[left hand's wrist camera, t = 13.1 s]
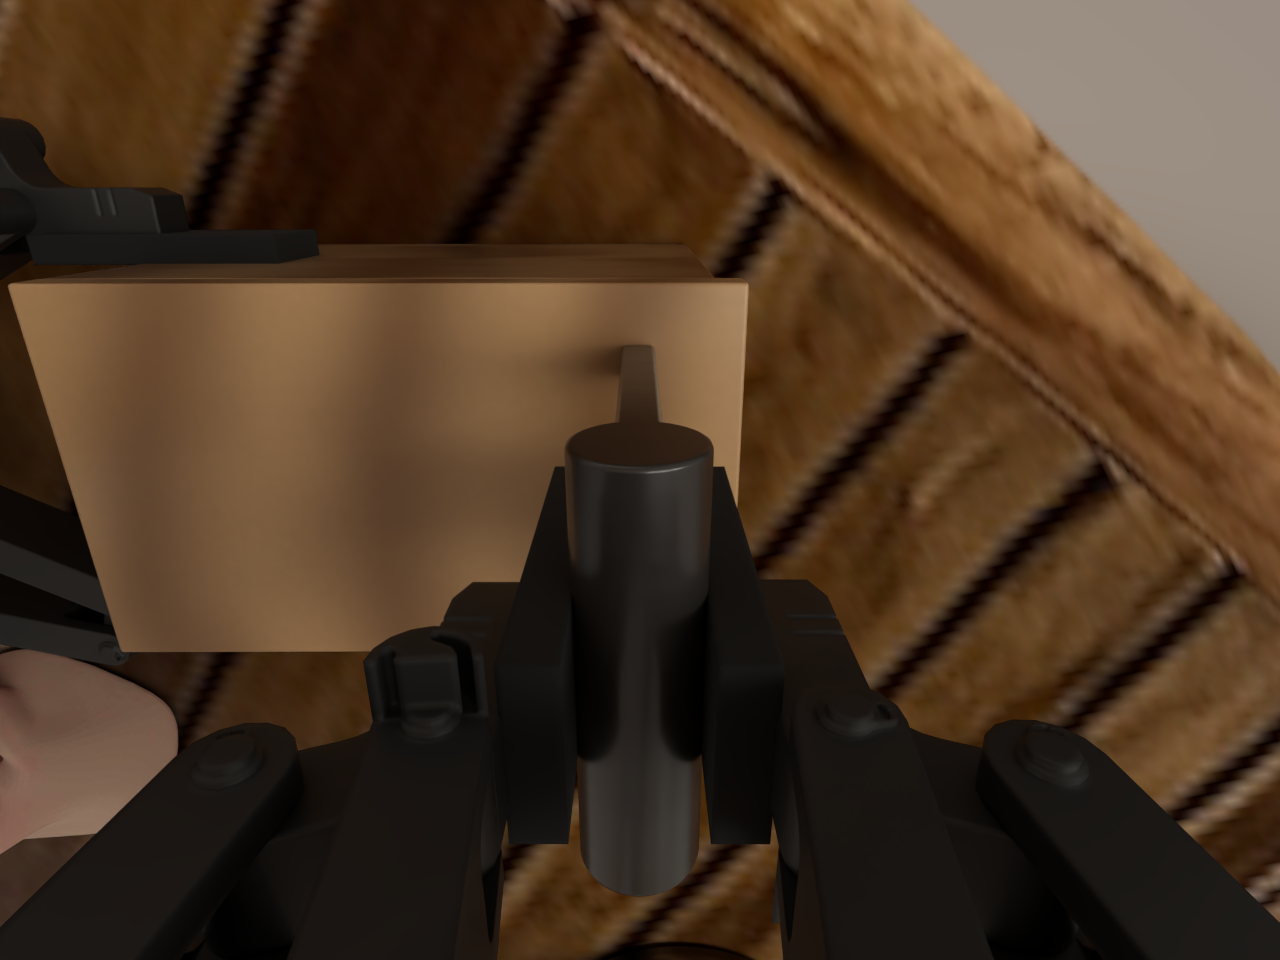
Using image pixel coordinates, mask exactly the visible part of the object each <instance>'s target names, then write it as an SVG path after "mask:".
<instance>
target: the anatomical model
mask: <svg viewBox="0 0 1280 960" xmlns="http://www.w3.org/2000/svg"><path fill="white" fill-rule="evenodd" d="M177 751H178V728H177V723H176V720H175V716H174V715H173V713H172V711H171V709H170V708H169V707H168V706H167V704H166V703H165V702H164V701H163V700H161V699H160V698H158V697H157V696H156V695H154V694H153V693H151V692H150V691H148V690H146V689H144V688H142V687H140V686H138V685H136V684H135V683H132V682H130V681H128V680H126V679H123V678H121V677H119V676H116V675H114V674H112V673H110V672H107V671H105V670H103V669H100V668H98V667H96V666H93V665H90V664H87V663H85V662H82V661H79V660H75V659H72V658H69V657H65V656H60V655H54V654H49V653H44V652H39V651H33V650H28V649H21V650H15V651H10V652H6V653H2V654H0V854H1V853H3V852H4V851H6V850H7V849H9V848H10V847H12V846H14V845H15V844H17V843H18V842H20V841H21V840H23V839H29V838H45V837H60V836H73V835H85V834H95V833H97V832H98V831H99V830H100V829H101V828H102V827H103V826H104V825H105V824H107V823H108V822H109V821H110V820H111V819H112V818H113V817H114V816H115V815H116V814H117V813H118V812H119V811H120V810H121V809H122V808H123V807H124V806H125V805H126V804H127V803H128V802H129V801H130V800H131V799H132V798H133V797H134V796H135V795H136V794H137V793H138V792H139V791H140V790H141V789H142V788H143V787H144V786H145V785H146V784H147V783H148V782H150V781H151V780H152V779H153V778H154V777H155V776H156V775H157V774H158V773H159V772H160V771H161V770H162V769H163V768H164V767H165V766H166V765H167V764H168V763H169V762H170V761H171V760H172V759H173V758H174V757H175V756H177Z"/></svg>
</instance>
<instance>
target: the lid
mask: <svg viewBox="0 0 1280 960" xmlns="http://www.w3.org/2000/svg"><path fill="white" fill-rule="evenodd" d="M8 289H9V292H10V296H11V299H12V302H13V305H14V308H15V312H16V315H17V318H18V321H19V325H20V328H21V331H22V334H23V337H24V341H25V344H26V347H27V350H28V354H29V357H30V360H31V363H32V366H33V370H34V373H35V376H36V379H37V382H38V386H39V389H40V392H41V395H42V399H43V402H44V405H45V408H46V411H47V415H48V418H49V421H50V424H51V427H52V431H53V434H54V437H55V440H56V444H57V447H58V450H59V453H60V456H61V460H62V463H63V466H64V469H65V473H66V476H67V479H68V482H69V485H70V489H71V492H72V495H73V498H74V501H75V505H76V508H77V511H78V514H79V518H80V521H81V524H82V527H83V530H84V534H85V537H86V540H87V543H88V547H89V550H90V553H91V556H92V559H93V563H94V566H95V569H96V572H97V575H98V579H99V582H100V585H101V588H102V592H103V595H104V598H105V601H106V604H107V608H108V611H109V614H110V617H111V620H112V624H113V627H114V630H115V633H116V637H117V640H118V643H119V646H120V649H121V651H122V652H338V651H372V649H373V648H374V647H376V646H377V645H379V644H380V643H382V642H383V641H385V640H386V639H388V638H390V637H392V636H394V635H397V634H400V633H403V632H405V631H408V630H411V629H417V628H423V627H430V626H440V624H441V622H442V621H443V620H444V616H445V613H446V611H447V609H448V607H449V605H450V603H451V600H452V598H454V597H455V596H456V595H457V594H458V593H460V592H461V591H462V590H463V589H465V588H466V587H467V586H468V585H470V584H471V583H472V582H520V579H521V576H522V573H523V569H524V566H525V563H526V559H527V556H528V553H529V550H530V546H531V543H532V540H533V536H534V533H535V530H536V527H537V523H538V520H539V517H540V514H541V510H542V507H543V504H544V500H545V497H546V494H547V491H548V487H549V484H550V481H551V478H552V474H553V471H554V468H555V466H565V483H566V507H567V531H568V556H569V580H570V592H571V595H572V620H573V645H574V670H575V695H576V720H577V745H578V758H577V773H578V798H579V822H580V846H581V855H582V858H583V861H584V864H585V866H586V868H587V869H588V870H589V872H590V873H591V875H592V876H593V877H594V878H595V879H596V880H597V881H598V882H599V883H600V884H602V885H603V886H605V887H606V888H608V889H610V890H612V891H614V892H617V893H620V894H623V895H629V896H651V895H656V894H659V893H662V892H665V891H667V890H669V889H671V888H673V887H674V886H676V885H677V884H679V883H680V882H681V881H682V880H683V879H684V878H685V877H686V876H687V875H688V874H689V872H690V871H691V869H692V868H693V866H694V864H695V862H696V859H697V856H698V849H699V826H700V800H701V774H702V755H701V750H702V724H703V698H704V673H705V647H706V621H707V595H708V590H709V566H710V541H711V515H712V489H713V466H724V467H725V470H726V473H727V477H728V480H729V483H730V486H731V490H732V493H733V496H734V499H735V503H736V506H737V503H738V484H739V465H740V446H741V427H742V408H743V389H744V370H745V351H746V332H747V313H748V294H749V285H748V283H747V282H746V281H745V280H743V279H741V278H507V279H36V280H29V281H23V282H16V283H11V284H9V285H8Z"/></svg>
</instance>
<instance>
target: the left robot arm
mask: <svg viewBox="0 0 1280 960" xmlns="http://www.w3.org/2000/svg"><path fill="white" fill-rule="evenodd" d="M363 664H364V670H365V676H366V682H367V688H368V694H369V700H370V706H371V712H372V718H373V723H372V726H371V728H370V731H368V732H366V733H363V734H361V735H359V736H356V737H353V738H350V739H346V740H343V741H339V742H335V743H331V744H326V745H322V746H317V747H313V748H308V749H304V750H299V751H298V750H297V745H296V740H295V738H294V737H293V736H292V735H291V734H290V732H289V731H288V730H287V729H286V728H284V727H281V726H277V725H274V724H270V723H244V724H240V725H237V726H233V727H229V728H225V729H221V730H218V731H216V732H214V733H212V734H210V735H208V736H206V737H204V738H202V739H199V740H197V741H195V742H194V743H192V744H191V745H190V746H189V747H187V748H186V749H185V750H183V751H182V752H181V753H179V754H178V755H177V756H175V757H174V758H173V759H172V760H171V761H170V762H169V763H168V764H167V765H166V766H165V767H164V768H163V769H162V770H161V771H160V772H159V773H158V774H157V775H156V776H155V777H154V778H153V779H152V780H151V781H150V782H148V783H147V784H146V785H145V786H144V787H143V788H142V789H141V790H140V791H139V792H138V793H137V794H136V795H135V796H134V797H133V798H132V799H131V800H130V801H129V802H128V803H127V804H126V805H125V806H124V807H123V808H122V809H121V810H120V811H119V812H118V813H117V814H116V815H115V816H114V817H113V818H112V819H111V820H110V821H109V822H108V823H107V824H105V825H104V826H103V827H102V828H101V829H100V830H99V831H98V832H97V833H96V834H95V835H94V836H93V837H92V838H91V839H90V840H89V841H88V842H87V843H86V844H85V845H84V846H83V847H82V848H81V849H80V850H79V851H78V852H77V853H76V854H75V855H74V856H73V857H72V858H71V859H70V860H69V861H68V862H67V863H66V864H65V865H63V866H62V867H61V868H60V869H59V870H58V871H57V872H56V873H55V874H54V875H53V876H52V877H51V878H50V879H49V880H48V881H47V882H46V883H45V884H44V885H43V886H42V887H41V888H40V889H39V890H38V891H37V892H36V893H35V894H34V895H33V896H32V897H31V898H30V899H29V900H28V901H27V902H26V903H25V904H24V905H23V906H22V907H20V908H19V909H18V910H17V911H16V912H15V913H14V914H13V915H12V916H11V917H10V918H9V919H8V920H7V921H6V922H5V923H4V924H3V925H2V926H1V927H0V960H497V951H498V940H499V929H500V918H501V907H502V895H503V884H504V873H503V862H502V851H501V844H502V839H503V834H504V830H505V825H506V820H507V824H508V835H509V844H568V841H569V832H570V823H571V814H572V804H573V795H574V786H575V777H576V767H577V758H578V745H577V720H576V695H575V670H574V645H573V620H572V595H571V592H570V580H569V556H568V531H567V507H566V483H565V466H555V468H554V471H553V474H552V478H551V481H550V484H549V487H548V491H547V494H546V497H545V500H544V504H543V507H542V510H541V514H540V517H539V520H538V523H537V527H536V530H535V533H534V536H533V540H532V543H531V546H530V550H529V553H528V556H527V559H526V563H525V566H524V569H523V573H522V576H521V579H520V582H472V583H471V584H470V585H468V586H467V587H466V588H465V589H463V590H462V591H461V592H460V593H458V594H457V595H456V596H455V597H454V598H452V600H451V603H450V605H449V607H448V609H447V611H446V613H445V616H444V620H443V621H442V622H441V624H440V626H430V627H423V628H417V629H411V630H408V631H405V632H403V633H400V634H397V635H394V636H392V637H390V638H388V639H386V640H385V641H383V642H382V643H380V644H379V645H377V646H376V647H374V648H373V649H372V651H371V652H370V653H369V655H368V656H367V657H366V658H365V660H364V661H363ZM701 755H702V764H703V774H704V783H705V792H706V801H707V811H708V820H709V829H710V838H711V844H770V839H771V827H772V816H773V820H774V825H775V829H776V834H777V839H778V844H779V851H778V862H777V873H776V883H775V894H774V905H773V915H772V922H773V923H780V928H781V939H782V950H783V960H1280V922H1279V921H1277V920H1276V919H1275V918H1274V917H1273V916H1272V915H1271V914H1270V913H1269V912H1268V911H1267V910H1266V909H1265V908H1264V907H1263V906H1262V905H1261V904H1260V903H1259V902H1258V901H1257V900H1256V899H1255V898H1254V897H1253V896H1252V895H1251V894H1250V893H1249V892H1248V891H1247V890H1246V889H1244V888H1243V887H1242V886H1241V885H1240V884H1239V883H1238V882H1237V881H1236V880H1235V879H1234V878H1233V877H1232V876H1231V875H1230V874H1229V873H1228V872H1227V871H1226V870H1225V869H1224V868H1223V867H1222V866H1221V865H1220V864H1219V863H1218V862H1217V861H1216V860H1215V859H1214V858H1213V857H1211V856H1210V855H1209V854H1208V853H1207V852H1206V851H1205V850H1204V849H1203V848H1202V847H1201V846H1200V845H1199V844H1198V843H1197V842H1196V841H1195V840H1194V839H1193V838H1192V837H1191V836H1190V835H1189V834H1188V833H1187V832H1186V831H1185V830H1184V829H1183V828H1182V827H1181V826H1180V825H1178V824H1177V823H1176V822H1175V821H1174V820H1173V819H1172V818H1171V817H1170V816H1169V815H1168V814H1167V813H1166V812H1165V811H1164V810H1163V809H1162V808H1161V807H1160V806H1159V805H1158V804H1157V803H1156V802H1155V801H1154V800H1153V799H1152V798H1151V797H1150V796H1149V795H1148V794H1147V793H1145V792H1144V791H1143V790H1142V789H1141V788H1140V787H1139V786H1138V785H1137V784H1136V783H1135V782H1134V781H1133V780H1132V779H1131V778H1130V777H1129V776H1128V775H1127V774H1126V773H1125V772H1124V771H1123V770H1122V769H1121V768H1120V767H1119V766H1118V765H1117V764H1116V763H1115V762H1114V761H1112V760H1111V759H1110V758H1109V757H1108V756H1107V755H1106V754H1105V753H1104V752H1102V751H1101V750H1100V749H1098V748H1097V747H1096V746H1095V745H1093V744H1092V743H1091V742H1089V741H1088V740H1087V739H1085V738H1083V737H1081V736H1079V735H1077V734H1075V733H1073V732H1070V731H1068V730H1066V729H1064V728H1062V727H1059V726H1056V725H1052V724H1048V723H1044V722H1040V721H1036V720H1009V721H1006V722H1002V723H999V724H995V725H994V726H993V727H992V728H991V729H990V730H989V731H988V732H987V733H986V734H985V737H984V741H983V746H982V748H980V747H976V746H971V745H967V744H962V743H958V742H953V741H949V740H944V739H940V738H937V737H933V736H930V735H926V734H923V733H920V732H918V731H916V730H914V729H912V728H910V727H909V725H908V722H907V720H906V718H905V717H904V715H903V714H902V712H901V711H900V709H899V708H898V706H897V705H895V704H894V703H893V702H891V701H890V700H889V699H888V698H886V697H885V696H884V695H882V694H880V693H878V692H876V691H873V690H871V689H870V688H869V686H868V684H867V681H866V679H865V677H864V675H863V673H862V671H861V668H860V666H859V664H858V662H857V660H856V658H855V655H854V653H853V651H852V649H851V647H850V645H849V642H848V640H847V638H846V636H845V635H843V629H842V627H841V625H840V623H839V621H838V619H836V614H835V612H834V610H833V608H832V606H831V603H830V601H829V599H828V597H827V596H826V595H825V594H824V593H823V592H821V591H820V590H819V589H818V588H816V587H815V586H814V585H813V584H812V583H810V582H809V581H808V580H759V578H758V575H757V572H756V568H755V565H754V562H753V559H752V555H751V552H750V549H749V545H748V542H747V539H746V536H745V532H744V529H743V526H742V522H741V519H740V516H739V513H738V509H737V506H736V503H735V499H734V496H733V493H732V490H731V486H730V483H729V480H728V477H727V473H726V470H725V467H724V466H713V489H712V515H711V541H710V566H709V590H708V595H707V621H706V647H705V673H704V698H703V724H702V750H701ZM607 960H748V959H746V958H743V957H741V956H738V955H734V954H731V953H728V952H724V951H719V950H715V949H708V948H701V947H689V946H668V947H656V948H648V949H642V950H637V951H632V952H629V953H625V954H622V955H618V956H616V957H613V958H610V959H607Z"/></svg>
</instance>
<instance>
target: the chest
mask: <svg viewBox="0 0 1280 960" xmlns="http://www.w3.org/2000/svg"><path fill="white" fill-rule="evenodd" d="M318 248H319V254H320V255H318V256H314V257H309V258H304V259H299V260H294V261H289V262H284V263H279V264H137V265H130V266H123V267H116V268H109V269H103V270H96V271H89V272H82V273H76V274H69V275H62V276H55V277H49V278H44V279H507V278H714V277H713V276H712V274H711V273H710V272H709V271H708V270H707V269H706V268H705V266H704V265H703V264H702V263H701V262H700V261H699V259H698V258H697V257H696V256H695V255H694V254H693V253H692V251H691V250H690V249H689V248H688V247H687V246H686V244H318Z"/></svg>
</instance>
